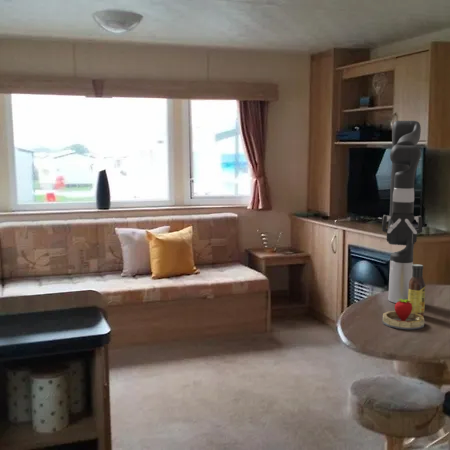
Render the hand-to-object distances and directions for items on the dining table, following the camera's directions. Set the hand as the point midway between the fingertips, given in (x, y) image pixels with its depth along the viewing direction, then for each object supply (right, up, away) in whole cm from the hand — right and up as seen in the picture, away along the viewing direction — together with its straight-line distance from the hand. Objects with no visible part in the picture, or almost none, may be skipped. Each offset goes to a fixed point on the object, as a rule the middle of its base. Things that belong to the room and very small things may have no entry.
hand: (401, 243), depth 218 cm
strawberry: (0, -29, -1) cm, 29 cm away
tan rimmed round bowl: (0, -30, -1) cm, 30 cm away
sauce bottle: (+8, -29, +10) cm, 31 cm away
